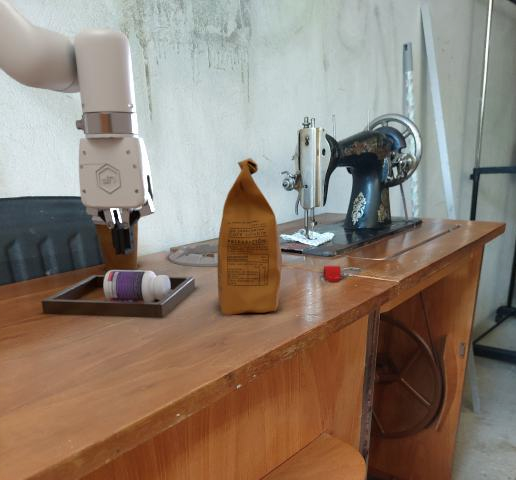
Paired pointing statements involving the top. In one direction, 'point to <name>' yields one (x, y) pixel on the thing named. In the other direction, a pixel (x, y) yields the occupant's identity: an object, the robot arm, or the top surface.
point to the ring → (195, 256)
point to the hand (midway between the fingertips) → (124, 252)
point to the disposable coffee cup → (108, 250)
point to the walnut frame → (69, 305)
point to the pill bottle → (135, 286)
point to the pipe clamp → (332, 273)
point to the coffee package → (248, 249)
